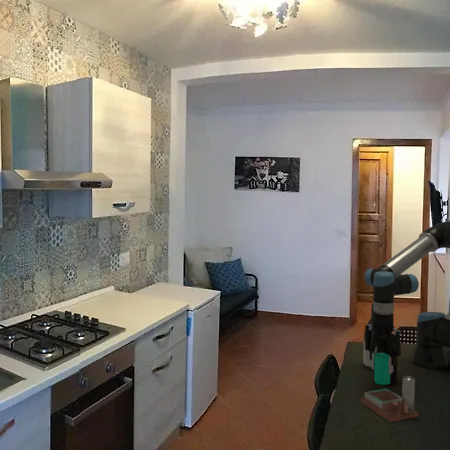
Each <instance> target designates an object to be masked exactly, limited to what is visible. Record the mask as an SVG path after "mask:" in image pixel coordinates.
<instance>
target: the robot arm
mask: <svg viewBox="0 0 450 450" xmlns="http://www.w3.org/2000/svg"><path fill="white" fill-rule="evenodd" d="M439 249H450V221H448V220H447V221H443V222H439V223H436V224H435V225H432V226H430V227H428V228H427V229H425V230H424V231H422V232H421V233H420V234H419V235H418V238H417V239H415V240H414V241H413V242H412V243H410V244H408V245H407V246H406V247H405V248H403V249H402V250H400V252H398V253H397V254H395V255H394V256H392V257H391V258H390V259H388V260H387V261H386V262H384V263H383V264H382V265H380V266H379V267H378V268H372V267H371V268H367V270H366V271H365V273H364V275H363V276H364V277H363V278H364V282H365V284H367V285H368V286H370V287H372V289H373V291H372V293H373V298H372V300H373V311H374V312H373V324H371V325H370V324H368V325H367V324H366V325H365V326H364V330H365V329H366V341H365V349H366V350H368V351H369V352H370V360H372V370H374V369H375V354H377V352H376V351H375V348H376V345H377V342H378V339H379V337H380V336H383V337H385V339H386V340H387V344H388V348H389V351H390V355H391V356H389V374H391V373H392V372H393V365H395V364H396V357H397V358H398V357H400V356H401V355H402V349H401V335H402V330H401V329H397V328H395V325H394V322H395V321H394V319H395V318H394V316H395V315H394V310H395V309H394V308H395V306H394V305H395V296H401V295H409V294H412V293H415V292H417V291H418V289H419V285H420V283H419V282H420V281H419V279H418V278H417V276H415V274H413V273H405V272H406V271H407V270H408V269H410V268H411V267H412V266H414V265H415V264H416V263H418V262H419V261H420V260H421V259H423V258H424V257H426V256H427V255H428V254H430V253H432V252H433V253H434V252H436V251H438V250H439ZM448 253H449V255H450V251H448ZM403 273H405V274H403ZM416 320H417V321H416V344H415V347H414V350H413V353H412V355H411V362H412V363H413V364H415V365H416V366H419V367H422V368H425V369H426V368H427V369H432V370H435V369H436V370H441V369H446V368H447V367H448V366H449V359H448V357H447V353H446V350H445V347H447V348H450V300H449V303H448V313H445V312H439V311H425V312H424V311H423V312H420V313H419V314H418V315H417V319H416ZM372 327H373V329H374V331H375V334H374V339H373V341H372V344H371V333H372ZM391 333H392V334H394V335H395V348H394V344H393V341H392V335H391ZM370 346H371V347H370ZM372 370H371V371H372Z"/></svg>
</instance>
